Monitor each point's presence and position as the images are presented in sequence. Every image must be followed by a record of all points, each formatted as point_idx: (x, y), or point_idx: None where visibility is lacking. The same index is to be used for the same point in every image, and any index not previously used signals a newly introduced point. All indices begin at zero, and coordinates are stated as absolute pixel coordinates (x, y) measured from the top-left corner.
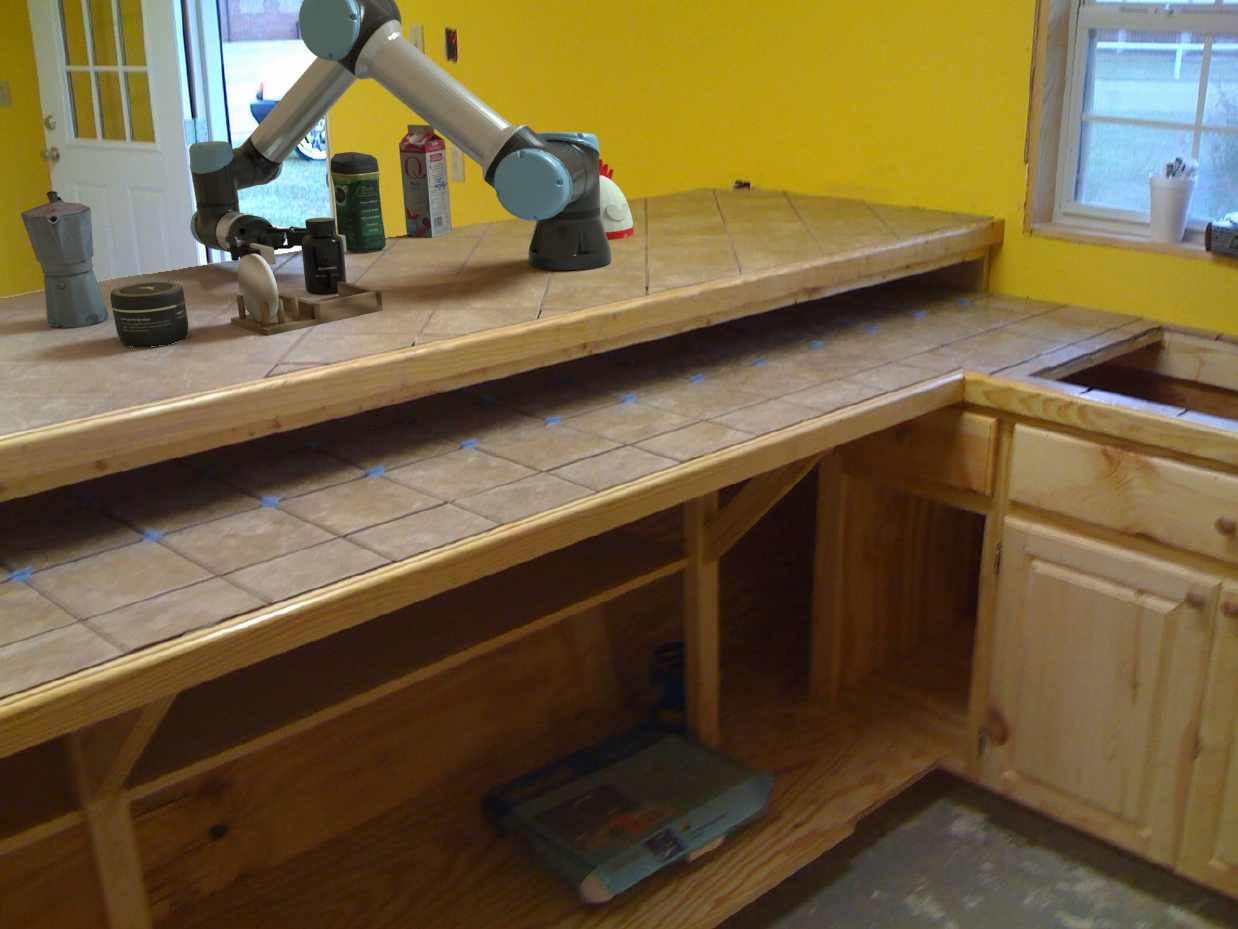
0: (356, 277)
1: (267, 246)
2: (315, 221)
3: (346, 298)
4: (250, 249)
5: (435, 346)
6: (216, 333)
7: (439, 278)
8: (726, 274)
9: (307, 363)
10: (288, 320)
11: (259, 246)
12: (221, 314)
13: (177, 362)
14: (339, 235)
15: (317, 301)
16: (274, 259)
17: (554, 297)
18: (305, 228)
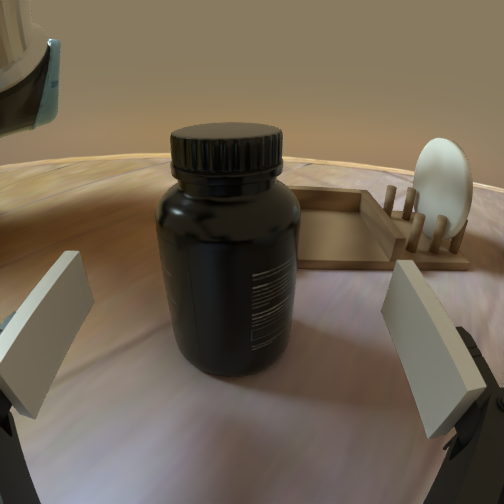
0: (60, 390)
1: (416, 286)
2: (262, 125)
3: (316, 187)
4: (476, 357)
5: (298, 159)
6: (479, 250)
7: (38, 265)
8: (13, 170)
9: (397, 176)
10: (396, 220)
11: (446, 314)
12: (487, 315)
13: (493, 217)
14: (62, 265)
15: (324, 254)
16: (387, 298)
17: (110, 174)
18: (276, 167)
